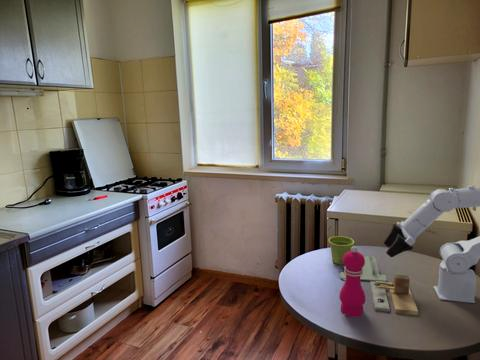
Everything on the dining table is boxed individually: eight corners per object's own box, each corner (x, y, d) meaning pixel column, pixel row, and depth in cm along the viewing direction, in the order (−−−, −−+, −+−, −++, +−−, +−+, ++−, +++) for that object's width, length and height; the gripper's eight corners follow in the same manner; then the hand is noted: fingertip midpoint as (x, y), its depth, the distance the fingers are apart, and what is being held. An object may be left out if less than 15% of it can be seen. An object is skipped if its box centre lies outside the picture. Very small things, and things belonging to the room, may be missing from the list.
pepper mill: (365, 319, 98) (368, 252, 94) (339, 316, 100) (340, 250, 96) (364, 306, 104) (366, 243, 100) (339, 303, 106) (340, 241, 102)
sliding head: (407, 290, 110) (408, 275, 109) (408, 294, 107) (409, 279, 106) (376, 287, 112) (377, 272, 111) (377, 291, 110) (378, 276, 109)
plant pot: (358, 265, 131) (359, 243, 130) (335, 268, 129) (335, 246, 128) (345, 255, 140) (346, 235, 139) (323, 258, 138) (324, 237, 137)
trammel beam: (407, 287, 114) (407, 282, 114) (418, 315, 99) (418, 308, 99) (374, 284, 117) (375, 278, 116) (380, 310, 102) (380, 304, 101)
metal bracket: (338, 249, 131) (380, 251, 128) (337, 261, 134) (379, 264, 131) (341, 276, 119) (387, 279, 116) (340, 289, 122) (386, 292, 119)
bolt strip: (382, 285, 116) (383, 282, 116) (389, 311, 101) (389, 308, 101) (370, 284, 117) (370, 281, 117) (374, 310, 102) (375, 306, 102)
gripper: (405, 205, 115) (375, 233, 120) (413, 220, 101) (379, 251, 106) (422, 219, 114) (392, 246, 119) (432, 236, 101) (398, 266, 106)
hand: (387, 250), depth 113 cm, fingers open, 7 cm apart
